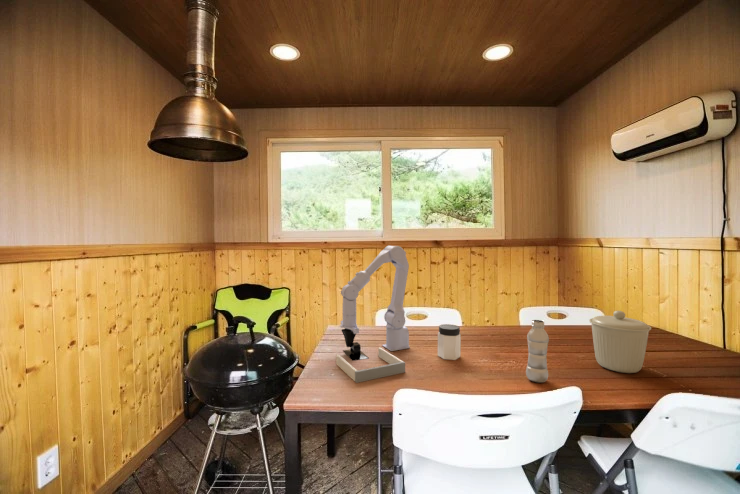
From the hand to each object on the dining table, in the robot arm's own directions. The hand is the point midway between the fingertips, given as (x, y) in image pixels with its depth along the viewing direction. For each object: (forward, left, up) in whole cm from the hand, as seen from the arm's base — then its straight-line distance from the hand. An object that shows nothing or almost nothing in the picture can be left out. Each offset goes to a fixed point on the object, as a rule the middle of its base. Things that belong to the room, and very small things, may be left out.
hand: (349, 346), depth 136 cm
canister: (-82, +59, -3) cm, 101 cm away
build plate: (-1, +3, -3) cm, 4 cm away
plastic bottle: (-45, +53, -3) cm, 70 cm away
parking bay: (0, +18, -2) cm, 18 cm away
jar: (-34, +22, -3) cm, 41 cm away
